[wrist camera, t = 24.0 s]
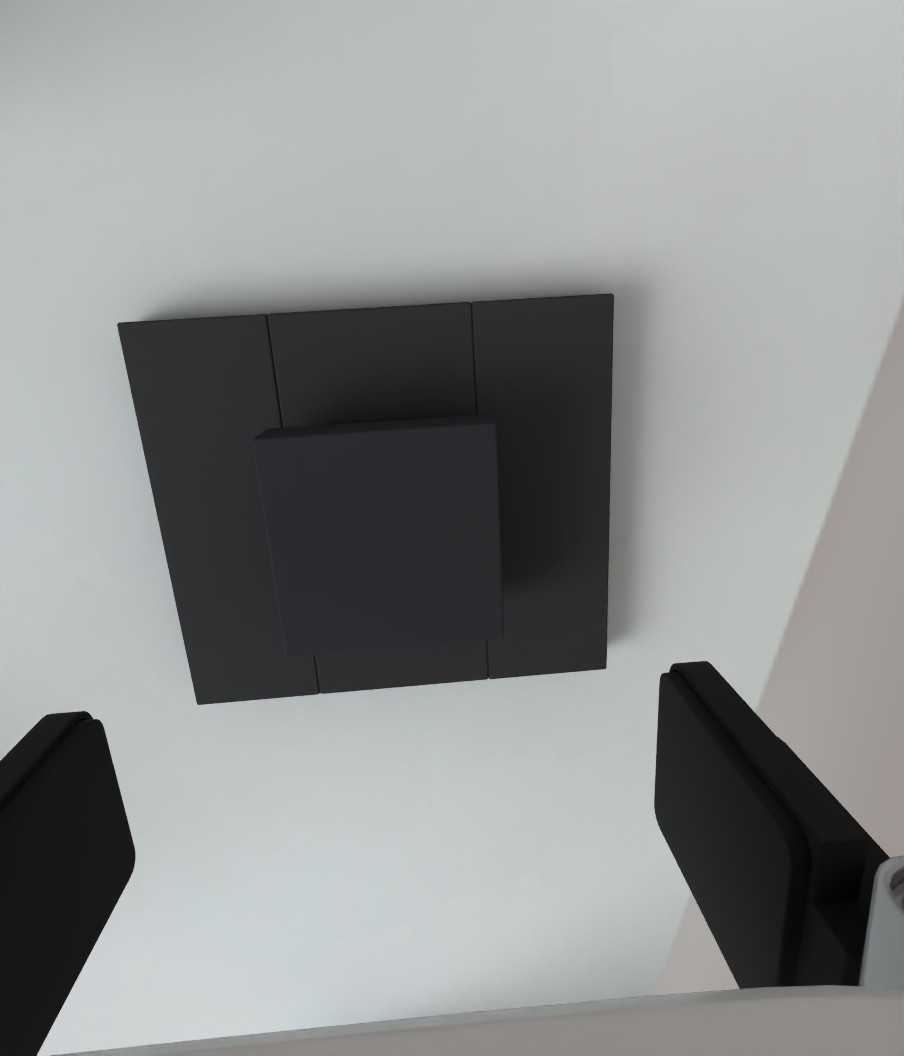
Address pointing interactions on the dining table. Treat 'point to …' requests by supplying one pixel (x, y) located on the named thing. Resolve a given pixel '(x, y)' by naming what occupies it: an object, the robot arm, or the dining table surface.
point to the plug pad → (383, 532)
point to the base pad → (367, 396)
